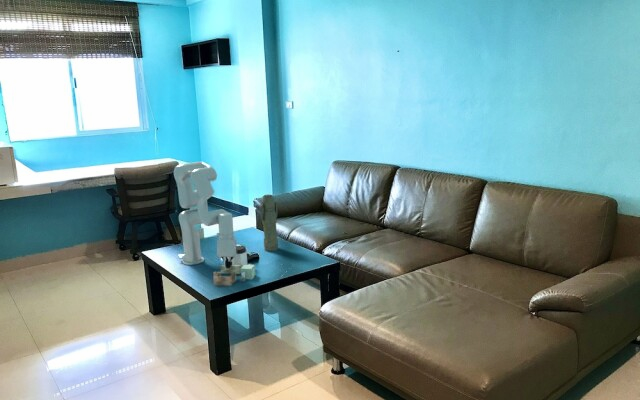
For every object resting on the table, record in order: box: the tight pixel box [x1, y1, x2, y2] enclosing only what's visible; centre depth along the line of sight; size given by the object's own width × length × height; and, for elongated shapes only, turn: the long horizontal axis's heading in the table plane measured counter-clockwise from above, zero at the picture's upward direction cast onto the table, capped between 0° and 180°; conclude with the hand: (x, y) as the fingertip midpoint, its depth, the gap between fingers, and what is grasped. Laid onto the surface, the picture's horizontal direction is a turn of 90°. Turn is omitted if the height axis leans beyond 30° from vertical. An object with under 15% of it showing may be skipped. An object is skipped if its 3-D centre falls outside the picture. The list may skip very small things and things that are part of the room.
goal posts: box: [240, 263, 253, 283], centre depth 267 cm, size 2×14×5 cm, turn 171°
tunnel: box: [212, 264, 242, 286], centre depth 266 cm, size 12×18×4 cm, turn 171°
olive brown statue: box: [259, 194, 279, 253], centre depth 309 cm, size 9×12×35 cm
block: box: [240, 264, 256, 280], centre depth 267 cm, size 6×6×6 cm
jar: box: [231, 245, 248, 266], centre depth 281 cm, size 9×8×12 cm
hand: (228, 267), depth 269 cm, fingers closed
